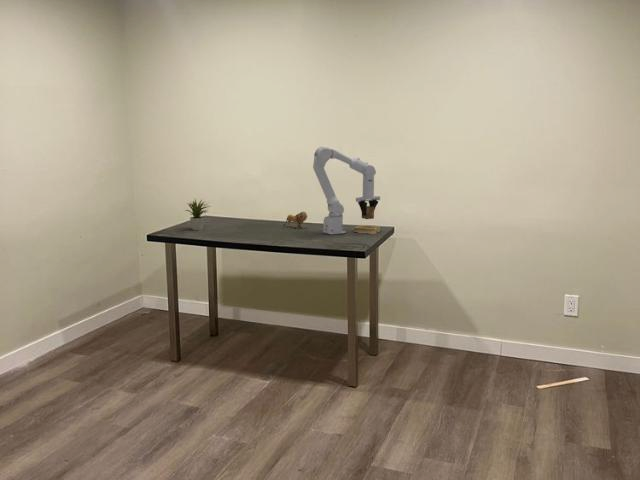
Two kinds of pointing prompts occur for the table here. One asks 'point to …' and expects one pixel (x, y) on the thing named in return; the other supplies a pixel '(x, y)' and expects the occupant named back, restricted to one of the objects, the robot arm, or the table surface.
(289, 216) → the lion figurine
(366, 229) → the oak plinth
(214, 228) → the table surface
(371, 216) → the walnut block
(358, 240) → the table surface
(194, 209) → the house plant
